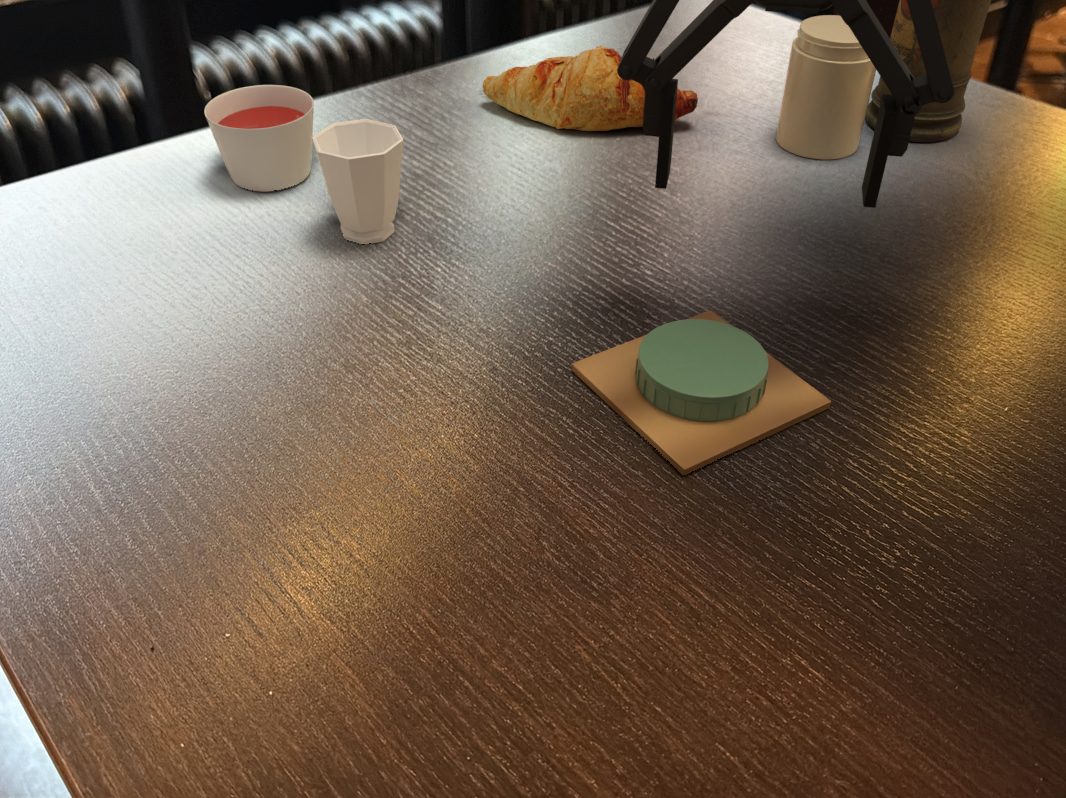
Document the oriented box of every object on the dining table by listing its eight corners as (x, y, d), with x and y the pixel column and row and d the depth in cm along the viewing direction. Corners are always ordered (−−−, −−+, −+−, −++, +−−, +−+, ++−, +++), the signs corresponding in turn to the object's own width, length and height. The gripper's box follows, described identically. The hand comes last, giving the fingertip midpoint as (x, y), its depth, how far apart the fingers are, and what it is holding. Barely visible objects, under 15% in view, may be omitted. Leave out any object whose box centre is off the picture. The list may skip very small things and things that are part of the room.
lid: (791, 395, 64) (797, 370, 63) (687, 439, 61) (691, 414, 60) (710, 328, 70) (713, 305, 68) (610, 366, 66) (612, 341, 65)
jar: (875, 146, 93) (903, 33, 86) (818, 167, 90) (842, 50, 83) (815, 117, 98) (837, 7, 91) (758, 136, 95) (777, 23, 88)
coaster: (830, 408, 64) (832, 401, 64) (683, 476, 59) (684, 469, 59) (709, 316, 72) (710, 309, 72) (571, 370, 67) (571, 363, 67)
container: (940, 103, 101) (995, -89, 89) (974, 143, 94) (1037, -60, 82) (853, 104, 101) (896, -89, 89) (879, 144, 94) (930, -60, 82)
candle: (218, 204, 84) (202, 133, 80) (219, 156, 91) (205, 89, 87) (326, 193, 85) (316, 123, 81) (319, 147, 92) (310, 80, 88)
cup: (315, 251, 78) (300, 156, 73) (341, 190, 86) (329, 100, 81) (404, 255, 78) (396, 159, 73) (422, 193, 86) (415, 103, 80)
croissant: (477, 148, 100) (463, 94, 93) (496, 68, 104) (485, 11, 96) (690, 166, 96) (693, 112, 89) (702, 83, 100) (706, 24, 93)
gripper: (1053, -176, 54) (952, 178, 68) (599, -190, 58) (589, 147, 72) (1082, -146, 49) (965, 234, 62) (577, -163, 53) (571, 197, 66)
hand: (763, 188), depth 67 cm, fingers open, 13 cm apart
